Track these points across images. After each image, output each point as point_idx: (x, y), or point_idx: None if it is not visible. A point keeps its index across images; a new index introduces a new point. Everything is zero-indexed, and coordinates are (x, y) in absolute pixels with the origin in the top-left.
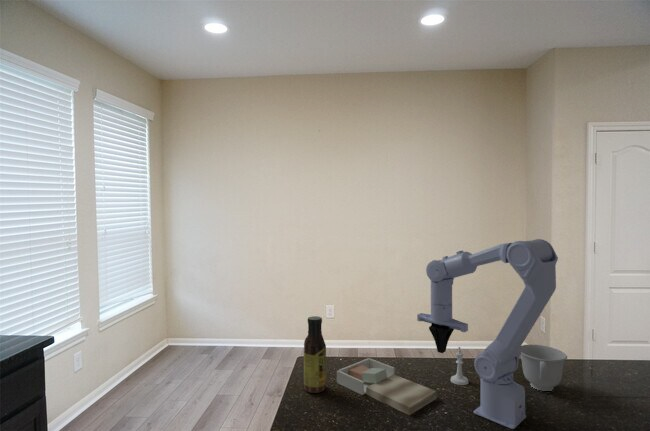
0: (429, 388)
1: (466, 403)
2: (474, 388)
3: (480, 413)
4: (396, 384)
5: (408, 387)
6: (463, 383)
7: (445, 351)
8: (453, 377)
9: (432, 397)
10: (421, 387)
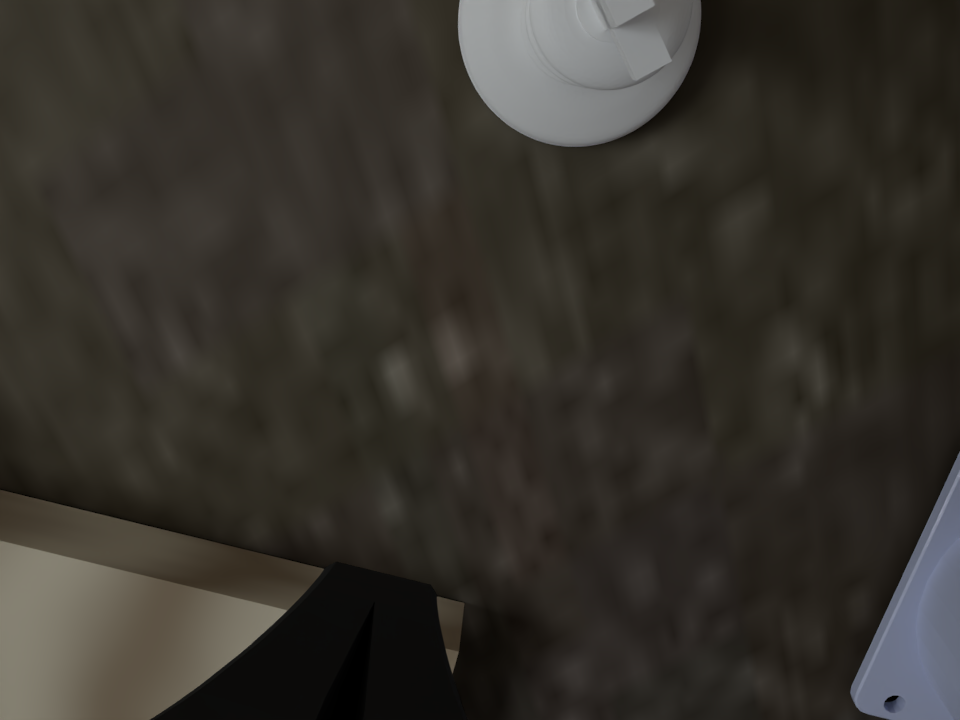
0: None
1: (758, 541)
2: (795, 134)
3: (921, 714)
4: (41, 714)
5: None
6: (652, 115)
7: (436, 598)
8: (502, 61)
9: None
10: None
